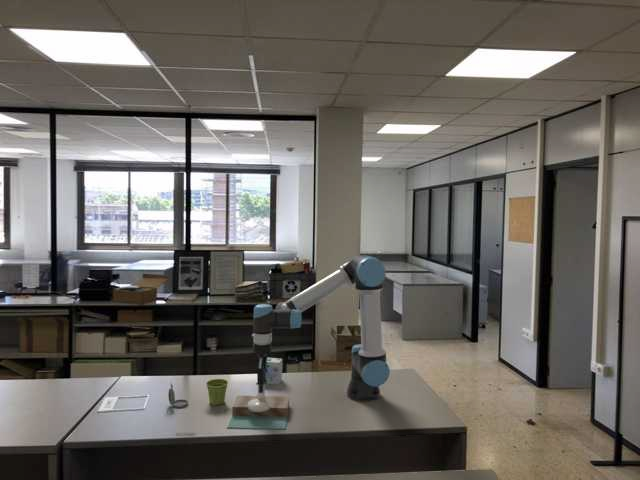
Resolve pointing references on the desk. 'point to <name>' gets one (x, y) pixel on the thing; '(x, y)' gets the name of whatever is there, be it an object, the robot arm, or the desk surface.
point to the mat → (257, 422)
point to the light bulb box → (273, 371)
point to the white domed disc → (259, 405)
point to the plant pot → (217, 390)
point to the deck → (276, 410)
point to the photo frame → (111, 401)
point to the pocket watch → (178, 402)
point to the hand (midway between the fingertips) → (261, 399)
